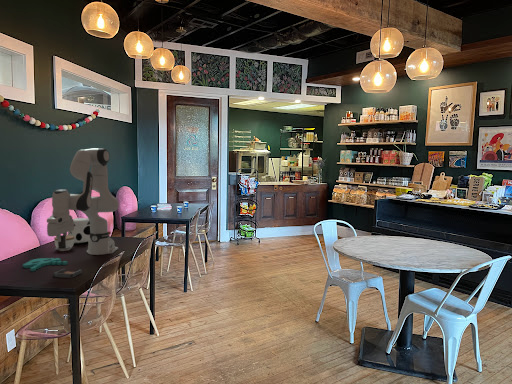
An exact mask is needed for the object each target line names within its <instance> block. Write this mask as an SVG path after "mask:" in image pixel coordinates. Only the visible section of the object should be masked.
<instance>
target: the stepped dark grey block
mask: <svg viewBox="0 0 512 384" xmlns="http://www.w3.org/2000/svg"><path fill="white" fill-rule="evenodd" d="M60 237H61V238H62V241H61V242H58V247H57V248H56V247H54V250H56V251H57V250H58V251H59V250H66V249H69V248H70V247H66V242H65V235H63V234H61V236H60Z"/></svg>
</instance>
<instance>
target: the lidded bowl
mask: <svg viewBox="0 0 512 384" xmlns="http://www.w3.org/2000/svg"><path fill="white" fill-rule="evenodd" d="M53 239H54V246H55V248H57V247H58V239H57V237H56V236H54V237H53ZM65 242H66V247H70V248H69V249H66V250H58V251H59V252H65V251H71V249H72V248H73V246H74V245H75V244H74V236H70V235H68V234H67V236H66V240H65Z"/></svg>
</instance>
